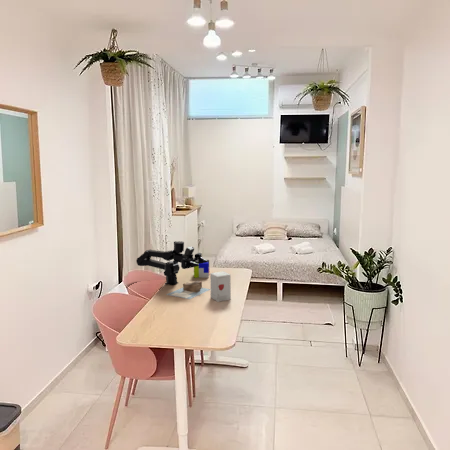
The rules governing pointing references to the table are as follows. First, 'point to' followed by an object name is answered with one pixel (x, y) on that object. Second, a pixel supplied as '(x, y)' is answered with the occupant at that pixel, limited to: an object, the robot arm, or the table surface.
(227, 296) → the supplement box
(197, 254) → the robot arm
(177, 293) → the mat
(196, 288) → the tee
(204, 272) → the puzzle toy
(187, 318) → the table surface
